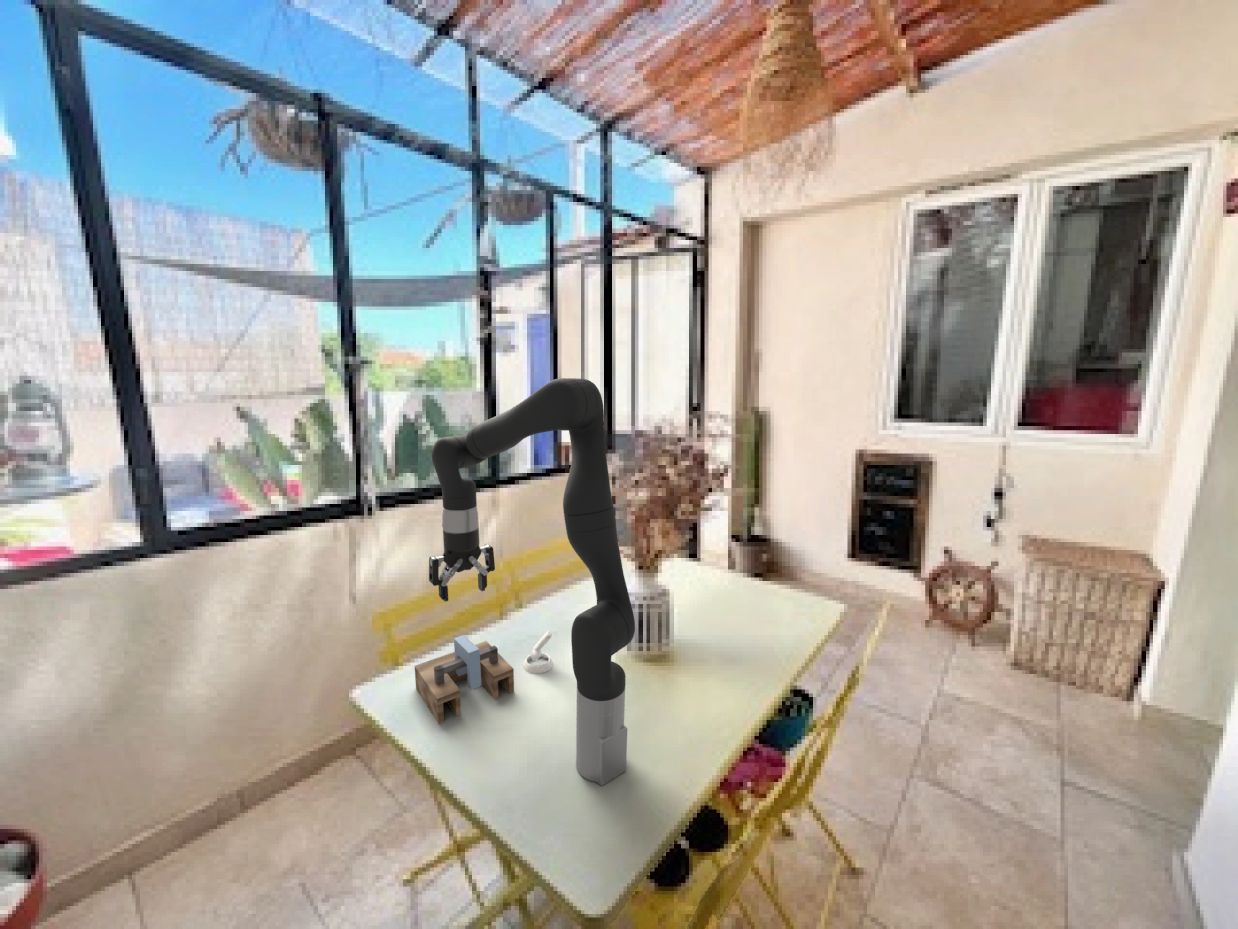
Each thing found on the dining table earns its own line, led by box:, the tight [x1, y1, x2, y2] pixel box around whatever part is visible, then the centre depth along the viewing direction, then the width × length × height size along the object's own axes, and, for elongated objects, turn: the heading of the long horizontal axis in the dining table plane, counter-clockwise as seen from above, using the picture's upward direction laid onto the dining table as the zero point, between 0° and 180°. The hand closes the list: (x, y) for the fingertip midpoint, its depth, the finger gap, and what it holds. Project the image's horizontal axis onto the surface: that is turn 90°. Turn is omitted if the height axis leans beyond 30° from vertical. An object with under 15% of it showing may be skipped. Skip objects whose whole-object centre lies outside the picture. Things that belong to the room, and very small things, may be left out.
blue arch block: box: [453, 634, 482, 690], centre depth 117 cm, size 8×2×9 cm, turn 40°
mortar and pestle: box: [522, 630, 554, 675], centre depth 130 cm, size 8×12×7 cm
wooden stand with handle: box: [414, 640, 515, 725], centre depth 119 cm, size 15×18×10 cm
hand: (463, 594), depth 113 cm, fingers open, 8 cm apart
